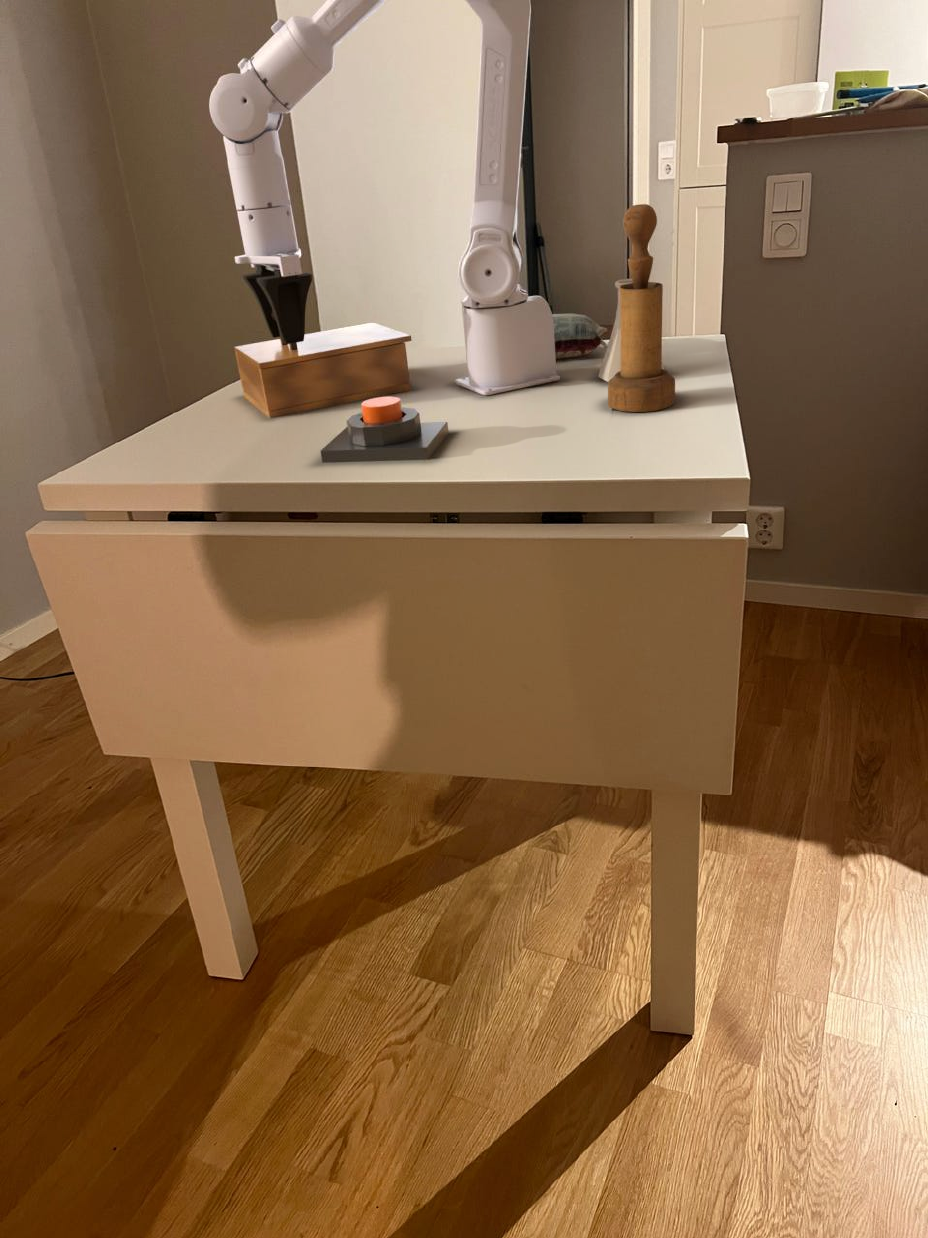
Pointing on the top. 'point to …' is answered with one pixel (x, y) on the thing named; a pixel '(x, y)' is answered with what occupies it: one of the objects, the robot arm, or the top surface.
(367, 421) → the button
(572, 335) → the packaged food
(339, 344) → the lid
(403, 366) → the wooden box
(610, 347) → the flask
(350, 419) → the switch block
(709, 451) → the top surface
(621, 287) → the mortar and pestle
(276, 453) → the top surface
